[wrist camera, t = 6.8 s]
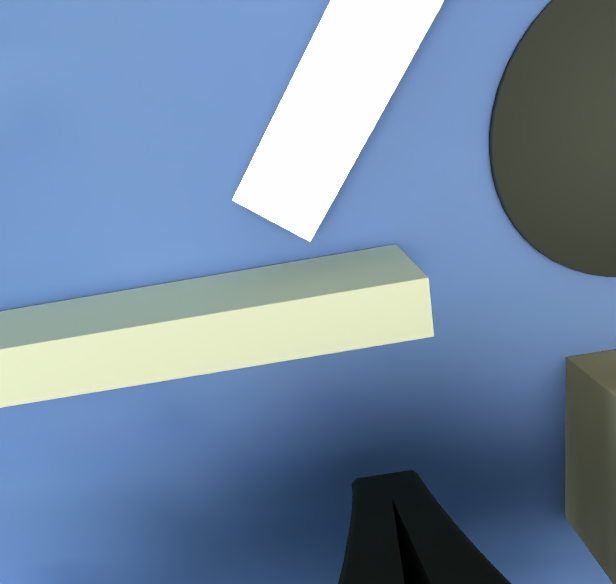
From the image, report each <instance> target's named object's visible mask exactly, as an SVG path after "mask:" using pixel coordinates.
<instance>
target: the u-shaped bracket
mask: <svg viewBox="0 0 616 584" xmlns="http://www.w3.org/2000/svg"><path fill="white" fill-rule="evenodd" d="M428 337H434V331H433V320H432V310H431V299H430V288H429V278H428V277H427V276H426V275H425V274H424V272H423V271H422V270H421V269H420V268H419V267H418V266H417V265H416V264H415V263H414V262H413V261H412V260H411V259H410V258H409V257H408V256H407V255H406V254H405V253H404V252H403V251H402V250H401V249H400V248H399V247H398V246H397V245H396V244H394V245H388V246H382V247H376V248H370V249H364V250H358V251H353V252H347V253H341V254H335V255H329V256H323V257H317V258H311V259H305V260H299V261H294V262H288V263H282V264H276V265H270V266H264V267H258V268H252V269H246V270H241V271H235V272H229V273H223V274H217V275H211V276H205V277H199V278H193V279H187V280H182V281H176V282H170V283H164V284H158V285H152V286H146V287H140V288H134V289H128V290H123V291H117V292H111V293H105V294H99V295H93V296H87V297H81V298H75V299H69V300H64V301H58V302H52V303H46V304H40V305H34V306H28V307H22V308H16V309H10V310H5V311H0V408H1V407H7V406H13V405H19V404H25V403H31V402H38V401H44V400H50V399H56V398H62V397H68V396H74V395H80V394H86V393H92V392H99V391H105V390H111V389H117V388H123V387H129V386H135V385H141V384H147V383H153V382H160V381H166V380H172V379H178V378H184V377H190V376H196V375H202V374H208V373H214V372H221V371H227V370H233V369H239V368H245V367H251V366H257V365H263V364H269V363H275V362H281V361H288V360H294V359H300V358H306V357H312V356H318V355H324V354H330V353H336V352H342V351H349V350H355V349H361V348H367V347H373V346H379V345H385V344H391V343H397V342H403V341H410V340H416V339H422V338H428Z"/></svg>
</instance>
